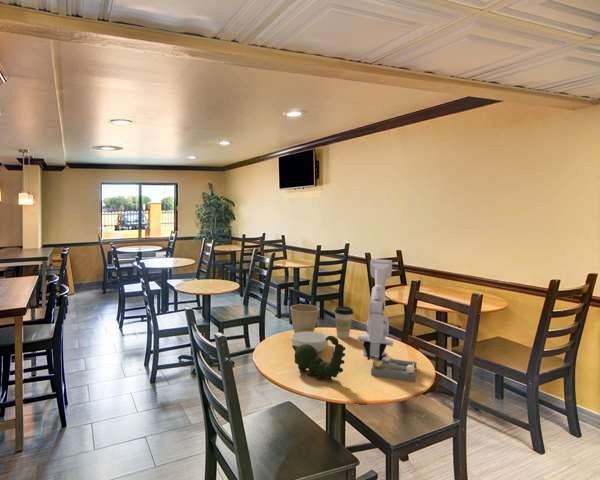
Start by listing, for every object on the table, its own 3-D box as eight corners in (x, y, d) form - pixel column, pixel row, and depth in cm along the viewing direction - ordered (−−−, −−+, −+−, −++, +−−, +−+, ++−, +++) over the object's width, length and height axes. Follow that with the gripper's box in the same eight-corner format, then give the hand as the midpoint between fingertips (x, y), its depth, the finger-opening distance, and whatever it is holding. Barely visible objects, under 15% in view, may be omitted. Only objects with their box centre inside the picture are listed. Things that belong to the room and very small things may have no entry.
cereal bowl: (329, 346, 191) (329, 332, 190) (325, 359, 174) (326, 343, 174) (294, 343, 194) (295, 329, 193) (287, 355, 177) (288, 340, 177)
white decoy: (405, 373, 155) (406, 365, 155) (406, 370, 158) (406, 363, 158) (414, 375, 154) (414, 367, 154) (414, 372, 157) (414, 364, 157)
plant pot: (293, 344, 192) (295, 312, 191) (286, 334, 207) (286, 304, 205) (322, 342, 197) (323, 310, 196) (312, 333, 211) (314, 303, 210)
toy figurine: (345, 384, 154) (297, 361, 170) (351, 338, 151) (302, 319, 167) (331, 392, 147) (282, 367, 163) (337, 343, 144) (287, 323, 160)
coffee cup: (332, 338, 202) (333, 310, 201) (334, 333, 212) (335, 305, 211) (352, 340, 201) (353, 311, 200) (352, 334, 210) (353, 307, 209)
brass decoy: (373, 368, 159) (374, 361, 159) (374, 365, 162) (375, 358, 162) (381, 370, 158) (382, 362, 158) (382, 367, 161) (383, 359, 161)
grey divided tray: (370, 375, 159) (371, 365, 159) (375, 362, 172) (376, 353, 172) (414, 382, 154) (415, 372, 153) (416, 368, 167) (416, 359, 167)
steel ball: (380, 365, 164) (380, 356, 163) (381, 361, 167) (381, 352, 167) (390, 366, 162) (389, 356, 162) (391, 362, 166) (390, 353, 166)
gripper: (357, 328, 164) (355, 360, 165) (392, 333, 159) (390, 366, 160) (360, 324, 170) (358, 355, 171) (394, 328, 166) (392, 360, 167)
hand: (374, 360), depth 166 cm, fingers open, 4 cm apart
